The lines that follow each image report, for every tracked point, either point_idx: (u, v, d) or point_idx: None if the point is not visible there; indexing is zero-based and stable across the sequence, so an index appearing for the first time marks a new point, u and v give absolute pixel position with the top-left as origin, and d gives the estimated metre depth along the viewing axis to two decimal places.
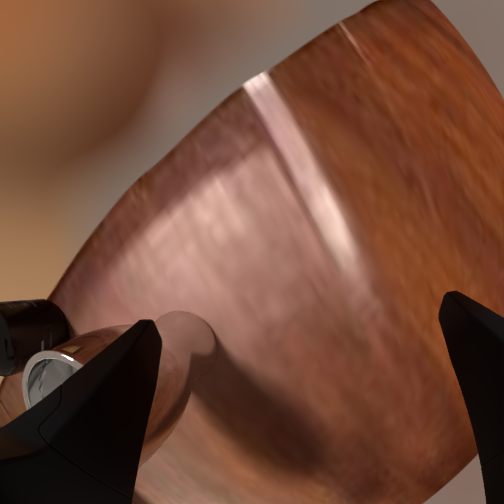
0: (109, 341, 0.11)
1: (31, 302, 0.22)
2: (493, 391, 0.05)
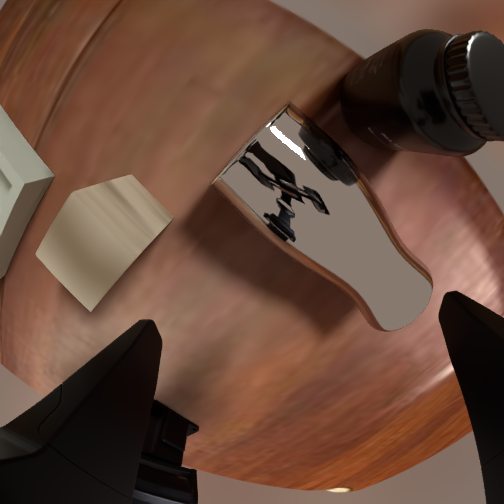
0: (321, 147, 0.13)
1: None
2: (493, 391, 0.05)
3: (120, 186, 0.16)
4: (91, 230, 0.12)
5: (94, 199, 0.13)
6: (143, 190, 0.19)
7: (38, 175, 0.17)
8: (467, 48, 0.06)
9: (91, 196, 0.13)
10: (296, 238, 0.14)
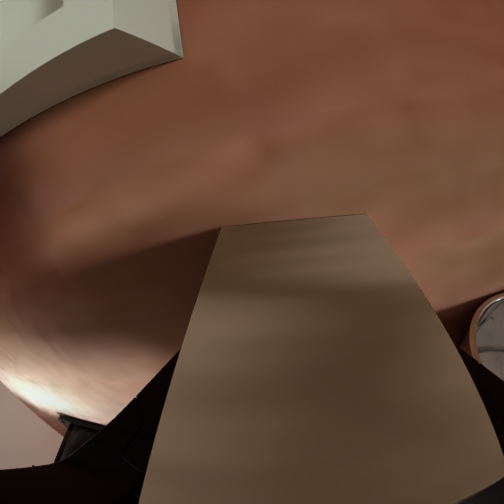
0: None
1: None
2: None
3: None
4: None
5: None
6: None
7: (158, 30, 0.05)
8: None
9: None
10: None
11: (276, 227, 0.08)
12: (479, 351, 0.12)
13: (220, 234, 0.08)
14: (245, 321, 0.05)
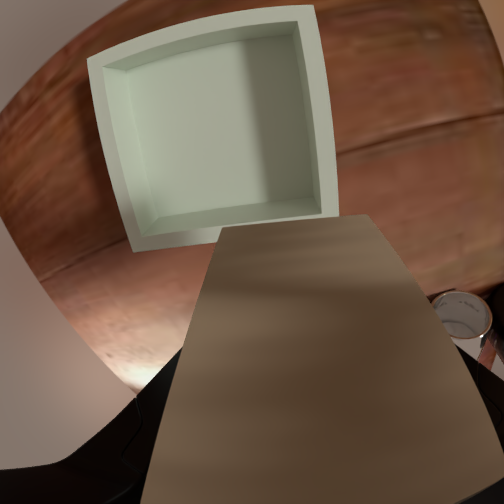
0: None
1: None
2: None
3: None
4: None
5: None
6: None
7: None
8: None
9: None
10: None
11: (277, 227, 0.08)
12: (443, 322, 0.25)
13: (221, 234, 0.08)
14: (246, 321, 0.05)
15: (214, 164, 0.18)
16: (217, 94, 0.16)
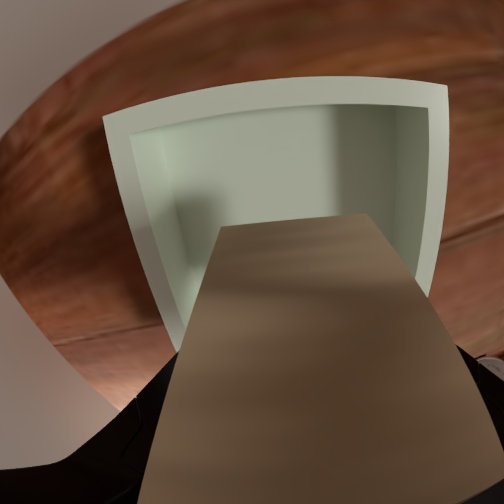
0: None
1: None
2: None
3: None
4: None
5: None
6: None
7: None
8: None
9: None
10: None
11: (276, 226, 0.08)
12: None
13: (220, 233, 0.08)
14: (244, 320, 0.05)
15: None
16: (293, 178, 0.13)
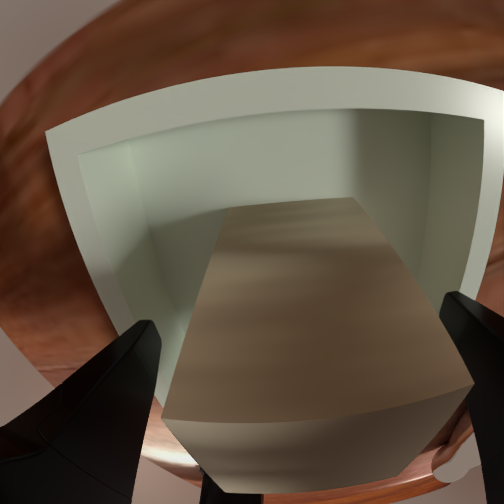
0: None
1: None
2: (494, 391, 0.05)
3: None
4: (401, 449, 0.04)
5: None
6: None
7: None
8: None
9: None
10: (475, 461, 0.15)
11: (275, 206, 0.10)
12: None
13: (227, 212, 0.10)
14: (251, 270, 0.06)
15: None
16: None
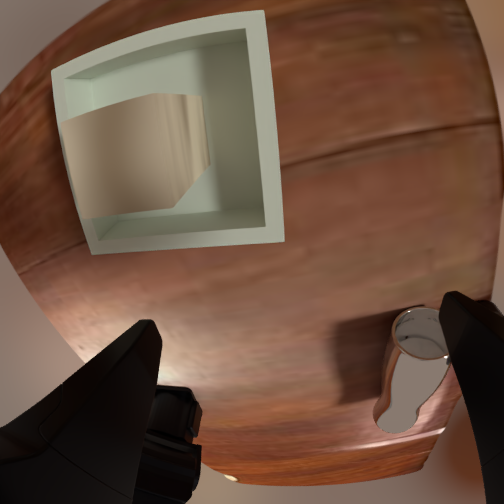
0: (449, 366, 0.19)
1: None
2: (493, 391, 0.05)
3: (190, 106, 0.13)
4: (144, 147, 0.10)
5: (167, 113, 0.10)
6: (203, 120, 0.16)
7: None
8: None
9: (166, 107, 0.10)
10: (405, 393, 0.21)
11: None
12: (410, 337, 0.26)
13: None
14: None
15: None
16: None
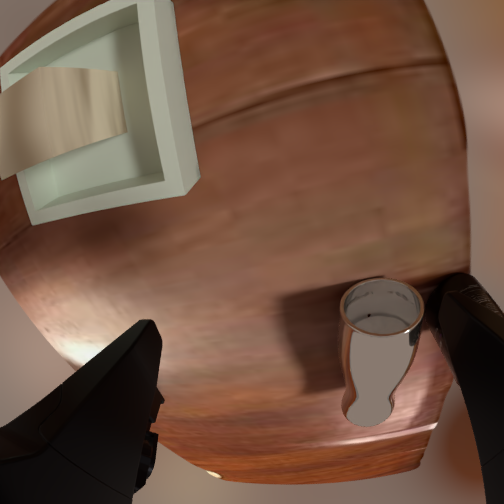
0: (415, 347, 0.18)
1: None
2: (493, 391, 0.05)
3: (94, 78, 0.12)
4: (34, 111, 0.09)
5: (56, 82, 0.09)
6: (116, 92, 0.15)
7: (192, 178, 0.17)
8: None
9: (55, 78, 0.09)
10: (362, 378, 0.20)
11: None
12: (373, 315, 0.24)
13: None
14: None
15: (94, 145, 0.17)
16: None
